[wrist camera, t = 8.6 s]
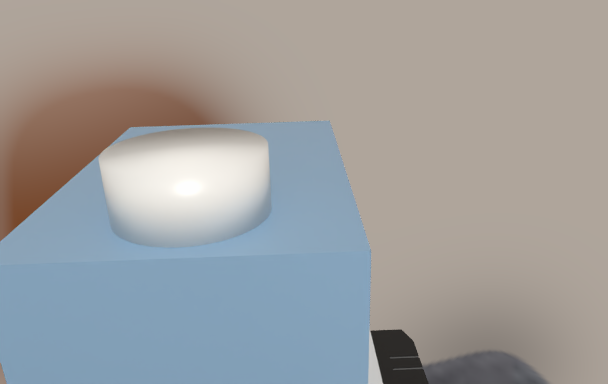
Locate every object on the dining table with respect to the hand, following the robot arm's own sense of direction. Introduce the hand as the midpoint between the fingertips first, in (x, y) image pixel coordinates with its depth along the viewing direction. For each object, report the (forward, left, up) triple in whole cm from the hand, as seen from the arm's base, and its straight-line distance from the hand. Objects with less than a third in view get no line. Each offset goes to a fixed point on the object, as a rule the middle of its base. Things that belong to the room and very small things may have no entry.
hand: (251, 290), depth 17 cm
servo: (+5, -3, -8) cm, 10 cm away
